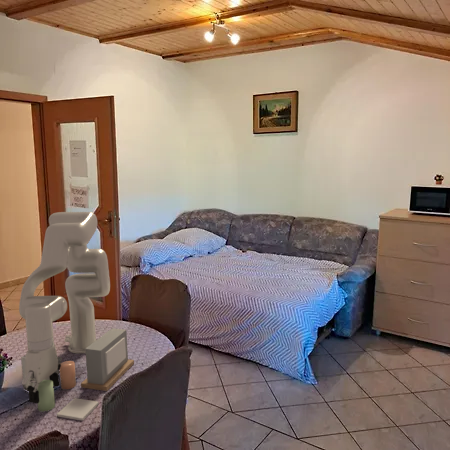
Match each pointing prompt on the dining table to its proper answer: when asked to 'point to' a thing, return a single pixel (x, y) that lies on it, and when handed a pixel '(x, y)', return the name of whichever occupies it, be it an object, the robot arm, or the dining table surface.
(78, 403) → the grey pad
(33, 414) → the dining table surface
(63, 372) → the terracotta part
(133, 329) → the dining table surface
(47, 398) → the sage part
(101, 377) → the box
